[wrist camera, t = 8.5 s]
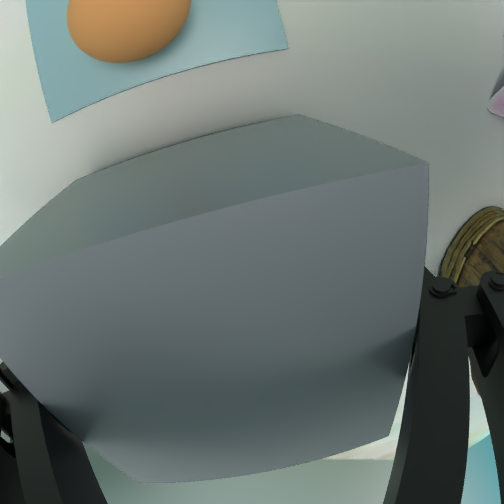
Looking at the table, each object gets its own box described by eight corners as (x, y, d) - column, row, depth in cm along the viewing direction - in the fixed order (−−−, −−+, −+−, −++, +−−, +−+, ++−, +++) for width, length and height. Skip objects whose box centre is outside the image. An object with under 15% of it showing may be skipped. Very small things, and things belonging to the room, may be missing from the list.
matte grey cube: (298, 114, 12) (428, 163, 5) (326, 302, 17) (388, 435, 10) (75, 180, 12) (-44, 295, 5) (154, 343, 17) (139, 483, 10)
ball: (193, -23, 6) (211, 58, 11) (167, -81, 6) (186, -10, 11) (41, 44, 6) (101, 101, 11) (49, -30, 6) (92, 27, 11)
